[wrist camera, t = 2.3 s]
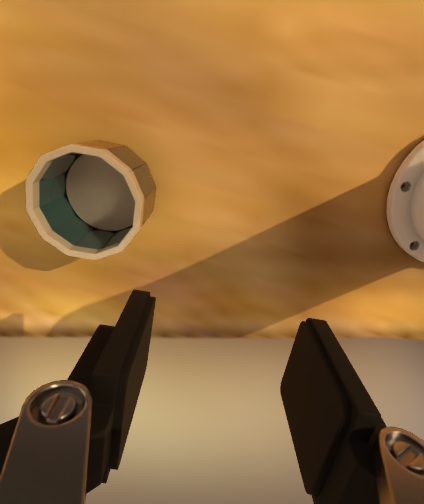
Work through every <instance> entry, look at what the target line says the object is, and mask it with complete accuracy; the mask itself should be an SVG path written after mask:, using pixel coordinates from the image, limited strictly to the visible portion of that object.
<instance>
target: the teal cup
mask: <svg viewBox="0 0 424 504" xmlns="http://www.w3.org/2000/svg"><path fill="white" fill-rule="evenodd" d="M82 154H83V155H82ZM80 155H81V156H80ZM79 156H80V157H79ZM25 186H26V210H27V213H28V215H29V217H30V219H31V220H32V222H33V224H34V226H35V227H36V229H37V231H38V233H39V234H40V236H41V237H42V238H43V239H44V240H45V241H47V242H48V243H50V244H51V245H53V246H54V247H55V248H57V249H58V250H60V251H61V252H63V253H64V254H65V255H68V256H73V257H79V258H85V259H91V260H99V259H101V258H104V257H107V256H110V255H113V254H116V253H119V252H121V251H123V250H124V248H125V247H126V246H127V245H128V243H129V242H130V241H131V240H132V238H133V237H134V236H135V235H136V233H137V232H138V231H139V230H140V228H141V227H142V226H143V224H144V223H145V221H146V220H147V219H148V217H149V216H150V215H151V213H152V212H153V209H154V201H155V192H156V185H155V183H154V180H153V178H152V176H151V173H150V171H149V168H148V166H147V164H146V162H145V161H143V160H142V159H141V158H140V157H139V156H137V155H136V154H135V153H134V152H133V151H131V150H130V149H129V148H128V147H126V146H125V145H120V144H115V143H109V142H104V141H93V142H84V143H75V144H68V145H66V146H63V147H61V148H58V149H56V150H53V151H51V152H48V153H46V154H43V155H42V156H40V158H39V160H38V161H37V163H36V164H35V166H34V167H33V169H32V171H31V172H30V174H29V175H28V177H27V178H26V181H25Z"/></svg>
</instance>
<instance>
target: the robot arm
mask: <svg viewBox="0 0 424 504" xmlns="http://www.w3.org/2000/svg"><path fill="white" fill-rule="evenodd" d="M402 183H403V186H402V187H401V185H402ZM386 215H387V220H388V226H389V229H390V231H391V233H392V236H393V238H394V239H395V241H396V242H397V243H398V245H399V246H400V247H401V248H402V249H403V250H404V251H405V252H407V253H408V254H409V255H411V256H412V257H414V258H416V259H417V260H419V261H421V262H424V140H423V141H422V142H421V143H419V144H418V145H417V146H416V147H415V148H414V149H413V150H412V151H411V152H410V154H409V155H408V156H407V157H406V158H405V159H404V161H403V162H402V164H401V166H400V167H399V169H398V170H397V172H396V174H395V176H394V179H393V181H392V183H391V186H390V189H389V194H388V198H387V211H386ZM155 301H156V297H150V292H146V291H140V290H133V291H132V293H131V295H130V297H129V299H128V301H127V303H126V305H125V308H124V310H123V312H122V314H121V316H120V318H119V320H118V322H117V324H116V326H115V327H114V326H107V325H99V327H98V328H97V330H96V331H95V333H94V335H93V336H92V338H91V340H90V342H89V343H88V345H87V347H86V348H85V350H84V352H83V354H82V356H81V357H80V359H79V361H78V362H77V364H76V366H75V368H74V369H73V371H72V373H71V375H70V376H69V378H68V380H60V381H54V382H50V383H47V384H45V385H42V386H41V387H39V388H37V389H36V390H34V391H33V392H32V393H31V394H30V395H29V396H28V397H27V398H26V400H25V402H24V404H23V406H22V409H21V412H20V415H19V417H17V418H15V419H12V420H10V421H7V422H5V423H3V424H1V425H0V504H85V502H86V494H87V493H88V492H90V491H91V490H93V489H94V488H96V487H97V486H99V485H100V484H101V483H106V482H107V479H108V475H109V472H110V469H116V470H118V467H119V464H120V461H121V457H122V453H123V450H124V446H125V443H126V439H127V435H128V432H129V429H130V425H131V421H132V418H133V414H134V411H135V407H136V404H137V400H138V396H139V393H140V389H141V386H142V382H143V378H144V375H145V371H146V366H147V360H148V352H149V344H150V338H151V330H152V323H153V316H154V308H155ZM280 389H281V396H282V401H283V405H284V408H285V412H286V416H287V420H288V424H289V428H290V432H291V436H292V440H293V444H294V447H295V452H296V456H297V460H298V463H299V468H300V472H301V475H302V479H303V483H304V487H305V490H306V492H307V493H308V494H310V495H312V498H313V502H314V504H424V441H423V440H422V439H420V438H419V437H417V436H416V435H414V434H413V433H411V432H408V431H406V430H404V429H401V428H397V427H387V426H386V425H385V423H384V421H383V419H382V418H381V414H380V413H379V411H378V409H377V407H376V406H375V405H374V402H373V401H372V399H371V397H370V395H369V394H368V392H367V390H366V389H365V387H364V386H363V384H362V382H361V380H360V378H359V377H358V375H357V373H356V372H355V370H354V368H353V366H352V365H351V363H350V361H349V360H348V358H347V356H346V354H345V353H344V351H343V349H342V348H341V346H340V344H339V342H338V341H337V339H336V337H335V336H334V334H333V332H332V330H331V329H330V327H329V325H328V324H327V322H326V321H324V320H319V319H312V318H308V319H307V320H306V322H305V321H302V322H301V323H300V326H299V329H298V332H297V335H296V338H295V341H294V344H293V348H292V351H291V354H290V357H289V360H288V363H287V366H286V369H285V372H284V375H283V378H282V381H281V388H280Z"/></svg>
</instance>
